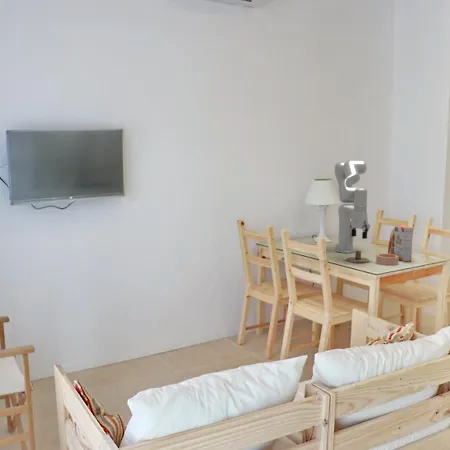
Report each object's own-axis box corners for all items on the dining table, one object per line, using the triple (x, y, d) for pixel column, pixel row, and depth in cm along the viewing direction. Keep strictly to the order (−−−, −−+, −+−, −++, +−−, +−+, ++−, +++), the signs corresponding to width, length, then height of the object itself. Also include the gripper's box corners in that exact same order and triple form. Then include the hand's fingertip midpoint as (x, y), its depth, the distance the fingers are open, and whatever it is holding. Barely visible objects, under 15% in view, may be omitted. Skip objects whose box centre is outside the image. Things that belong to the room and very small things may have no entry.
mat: (342, 260, 332) (342, 259, 332) (359, 258, 338) (359, 258, 338) (356, 265, 321) (356, 264, 321) (373, 263, 327) (373, 262, 326)
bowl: (371, 262, 327) (372, 254, 326) (387, 261, 332) (387, 253, 332) (386, 267, 316) (386, 258, 315) (402, 265, 321) (402, 256, 321)
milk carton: (403, 257, 344) (405, 226, 340) (388, 256, 346) (390, 225, 342) (402, 253, 353) (404, 223, 349) (387, 253, 355) (389, 223, 351)
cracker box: (393, 257, 344) (394, 224, 341) (402, 257, 344) (403, 224, 341) (401, 261, 330) (403, 227, 327) (411, 261, 331) (413, 227, 328)
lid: (342, 259, 332) (342, 250, 331) (359, 258, 338) (359, 248, 337) (356, 264, 321) (356, 254, 320) (373, 262, 326) (374, 252, 326)
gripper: (345, 208, 331) (344, 236, 333) (364, 210, 315) (363, 239, 317) (355, 207, 334) (354, 235, 336) (374, 210, 319) (373, 239, 321)
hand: (359, 237), depth 327 cm, fingers open, 9 cm apart
